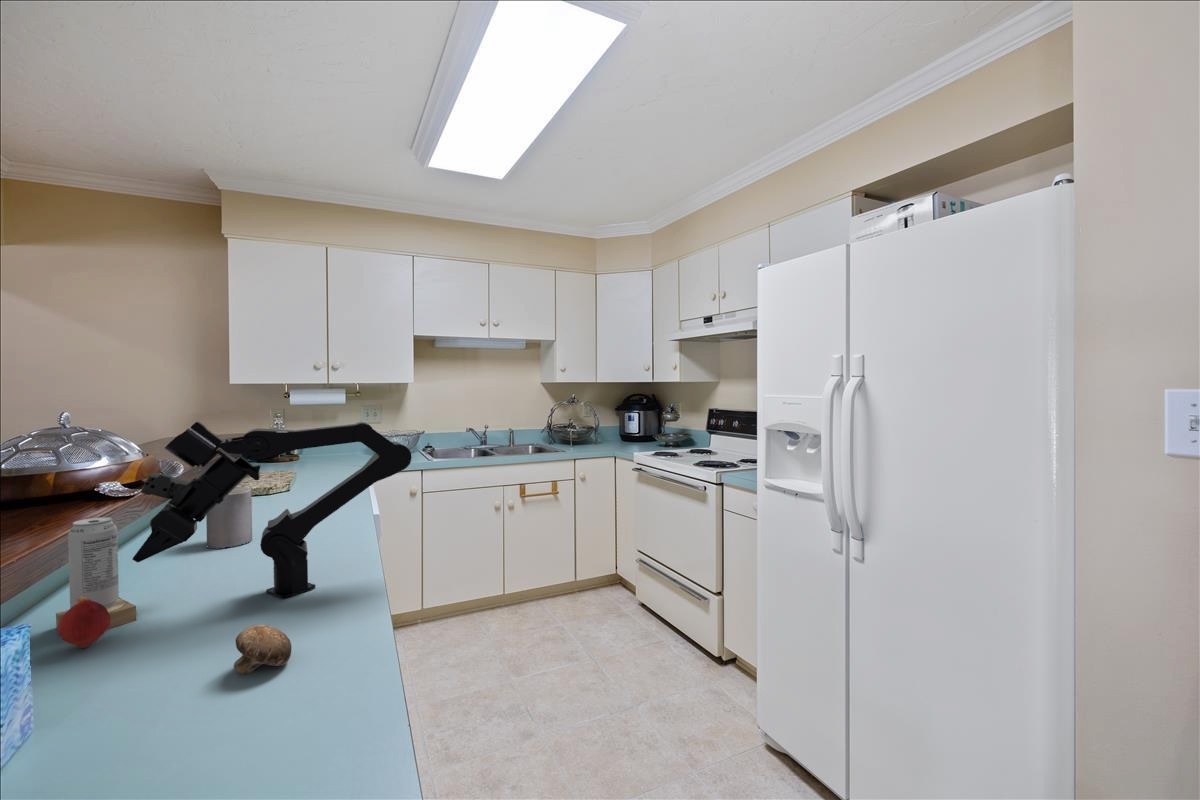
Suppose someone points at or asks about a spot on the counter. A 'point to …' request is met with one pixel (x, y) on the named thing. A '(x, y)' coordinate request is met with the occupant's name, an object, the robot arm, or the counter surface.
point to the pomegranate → (84, 623)
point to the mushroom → (261, 648)
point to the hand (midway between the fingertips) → (141, 553)
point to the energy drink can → (93, 561)
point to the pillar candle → (231, 520)
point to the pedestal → (113, 613)
